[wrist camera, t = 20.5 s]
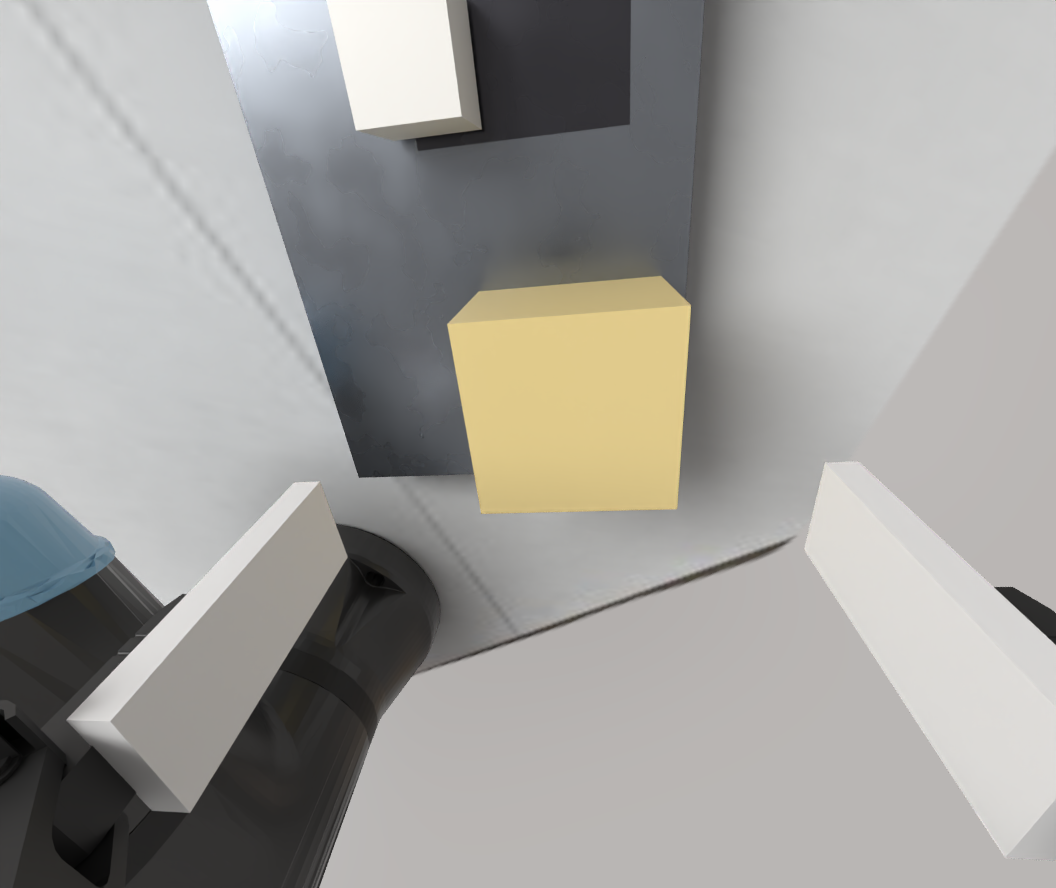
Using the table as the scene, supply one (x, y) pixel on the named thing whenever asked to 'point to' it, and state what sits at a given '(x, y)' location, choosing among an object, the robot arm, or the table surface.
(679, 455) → the cap
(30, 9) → the table surface
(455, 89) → the block
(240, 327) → the table surface
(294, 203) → the breaker panel
